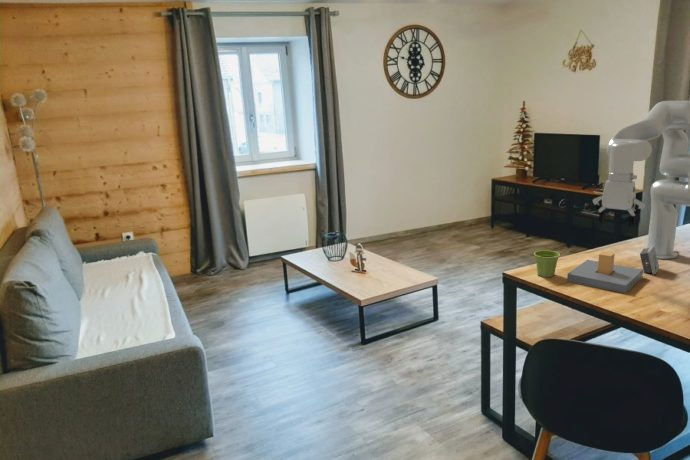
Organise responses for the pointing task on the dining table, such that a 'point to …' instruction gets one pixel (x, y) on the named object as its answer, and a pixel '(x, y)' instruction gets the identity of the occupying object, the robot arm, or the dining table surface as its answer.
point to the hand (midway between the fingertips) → (616, 224)
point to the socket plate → (605, 277)
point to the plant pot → (546, 262)
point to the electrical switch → (649, 260)
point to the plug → (606, 263)
